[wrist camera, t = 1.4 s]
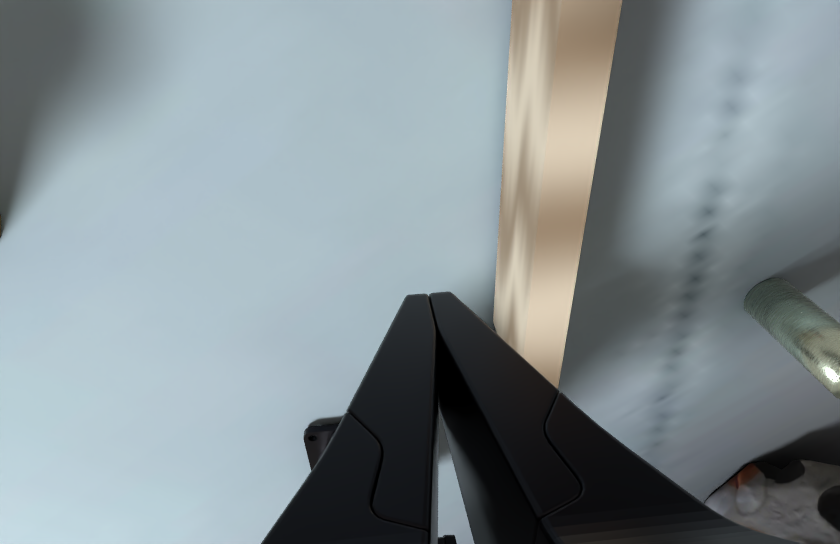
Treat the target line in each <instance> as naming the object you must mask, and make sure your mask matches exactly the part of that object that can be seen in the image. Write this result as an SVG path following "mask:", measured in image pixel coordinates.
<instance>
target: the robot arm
mask: <svg viewBox="0 0 840 544" xmlns="http://www.w3.org/2000/svg"><path fill="white" fill-rule="evenodd" d="M438 403H439V409H440V413H441V417H442V422H443V425H444V429H445V433H446V437H447V441H448V444H449V448H450V452H451V456H452V460H453V463H454V467H455V471H456V475H457V479H458V482H459V486H460V490H461V494H462V498H463V501H464V505H465V509H466V513H467V517H468V520H469V524H470V528H471V532H472V536H473V539H474V543H475V544H802V543H798V542H795V541H791V540H787V539H783V538H779V537H776V536H772V535H768V534H764V533H761V532H758V531H755V530H752V529H749V528H747V527H744V526H742V525H740V524H738V523H736V522H734V521H732V520H730V519H727V518H726V517H724V516H722V515H721V514H719V513H717V512H716V511H714V510H712V509H711V508H709V507H708V506H707V505H705V504H704V503H702V502H701V501H699V500H698V499H697V498H695V497H694V496H692V495H691V494H690V493H688V492H687V491H686V490H684V489H683V488H682V487H680V486H679V485H678V484H676V483H675V482H674V481H672V480H671V479H669V478H668V477H667V476H665V475H664V474H663V473H661V472H660V471H659V470H657V469H656V468H655V467H653V466H652V465H650V464H649V463H648V462H646V461H645V460H644V459H642V458H641V457H640V456H638V455H637V454H636V453H634V452H633V451H632V450H630V449H629V448H627V447H626V446H625V445H624V444H622V443H621V442H620V441H618V440H617V439H616V438H615V437H613V436H612V435H611V434H609V433H608V432H607V431H606V430H604V429H603V428H602V427H600V426H599V425H598V424H597V423H596V422H594V421H593V420H592V419H591V418H590V417H589V416H588V415H586V414H585V413H584V412H583V411H582V410H581V409H579V408H578V407H577V406H576V405H575V404H574V403H573V402H571V401H570V400H569V399H568V398H567V397H566V396H565V395H564V394H563V393H559V390H558V389H557V388H556V387H555V386H554V385H553V384H551V383H550V382H549V381H548V380H547V379H546V378H545V377H544V376H543V375H542V374H540V373H539V372H538V371H537V370H536V369H535V368H534V367H533V366H532V365H531V364H529V363H528V362H527V361H526V360H525V359H524V358H523V357H522V356H521V355H520V354H518V353H517V352H516V351H515V350H514V349H513V348H512V347H511V346H510V345H509V344H507V343H506V342H505V341H504V340H503V339H502V338H501V337H500V336H499V335H498V334H496V333H495V332H494V331H493V330H492V329H491V328H490V327H489V326H488V325H487V324H486V323H484V322H483V321H482V320H481V319H480V318H479V317H478V316H477V315H476V314H475V313H473V312H472V311H471V310H470V309H469V308H468V307H467V306H466V305H465V304H464V303H462V302H461V301H460V300H459V299H458V298H457V297H456V296H455V295H454V294H453V293H451V292H438V293H431V294H430V295H429V296H428V295H427V294H413V295H407V296H406V297H405V299H404V301H403V303H402V305H401V307H400V308H399V310H398V312H397V314H396V316H395V318H394V320H393V322H392V324H391V326H390V328H389V330H388V332H387V334H386V335H385V337H384V339H383V341H382V343H381V345H380V347H379V349H378V351H377V353H376V355H375V357H374V359H373V361H372V363H371V364H370V366H369V368H368V370H367V372H366V374H365V376H364V378H363V380H362V382H361V384H360V386H359V388H358V390H357V391H356V393H355V395H354V397H353V399H352V401H351V403H350V405H349V407H348V409H347V413H345V414H344V416H343V418H342V420H341V422H340V424H335V425H325V426H314V427H309V428H307V429H306V430H305V431H304V443H305V447H306V451H307V455H308V459H309V463H310V467H311V473H310V474H309V476H308V477H307V479H306V480H305V482H304V483H303V484H302V486H301V487H300V489H299V490H298V492H297V493H296V494H295V496H294V497H293V499H292V500H291V501H290V503H289V504H288V506H287V507H286V509H285V510H284V511H283V513H282V514H281V516H280V517H279V519H278V520H277V521H276V523H275V524H274V526H273V527H272V528H271V530H270V531H269V533H268V534H267V536H266V537H265V538H264V540H263V541H262V543H261V544H457V543H456V539H455V536H454V535H444V536H443V537H438V437H439V414H438ZM313 435H314V436H313Z"/></svg>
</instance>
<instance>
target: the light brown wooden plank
mask: <svg viewBox="0 0 840 544" xmlns="http://www.w3.org/2000/svg"><path fill="white" fill-rule="evenodd" d="M621 6H622V0H512V15H511V32H510V49H509V65H508V82H507V98H506V115H505V132H504V148H503V165H502V182H501V198H500V215H499V231H498V248H497V265H496V281H495V298H494V315H493V323H494V326H495V329H496V332H497V334H498V335H499V336H500V337H501V338H502V339H503V340H504V341H505V342H506V343H507V344H509V345H510V346H511V347H512V348H513V349H514V350H515V351H516V352H517V353H518V354H520V355H521V356H522V357H523V358H524V359H525V360H526V361H527V362H528V363H529V364H531V365H532V366H533V367H534V368H535V369H536V370H537V371H538V372H539V373H540V374H542V375H543V376H544V377H545V378H546V379H547V380H548V381H549V382H550V383H551V384H553V385H554V386H555V387H556V388H557V389H558V385H559V379H560V373H561V367H562V361H563V355H564V348H565V342H566V336H567V330H568V324H569V318H570V312H571V306H572V300H573V294H574V288H575V282H576V276H577V270H578V264H579V258H580V252H581V246H582V240H583V234H584V228H585V222H586V216H587V210H588V204H589V198H590V192H591V186H592V180H593V174H594V168H595V162H596V156H597V150H598V144H599V138H600V132H601V126H602V120H603V114H604V108H605V102H606V96H607V90H608V84H609V78H610V72H611V66H612V60H613V54H614V48H615V42H616V36H617V30H618V24H619V18H620V12H621Z"/></svg>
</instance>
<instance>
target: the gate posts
mask: <svg viewBox="0 0 840 544" xmlns="http://www.w3.org/2000/svg"><path fill="white" fill-rule="evenodd" d="M744 309H745V310H746V312H747V313H748V314H749V315H750V316H752V317H753V318H754V319H755V320H756V321H757V322H758V323H759V324H760V325H761V326H762V327H763V328H764V329H765V330H766V331H767V332H768V333H769V334H770V335H771V336H772V337H773V338H775V339H776V340H777V341H778V342H779V343H780V344H781V345H782V346H783V347H784V348H785V349H786V350H787V351H788V352H789V353H790V354H791V355H792V356H793V357H794V358H795V359H796V360H797V361H799V362H800V363H801V364H802V365H803V366H804V367H805V368H806V369H807V370H808V371H809V372H810V373H811V374H812V375H813V376H814V377H815V378H816V379H817V380H818V381H819V382H820V383H822V384H823V385H824V386H825V387H826V388H827V389H828V390H829V391H830V392H831V393H832V394H833V395H834V396H835V397H837V398H839V399H840V323H839V322H838V321H836V320H835V319H834V318H833V317H831V316H830V315H829V314H828V313H826V312H825V311H824V310H822V309H821V308H820V307H819V306H817V305H816V304H815V303H814V302H812V301H811V300H810V299H809V298H807V297H806V296H805V295H804V294H802V293H801V292H800V291H799V290H797V289H796V288H795V287H794V286H792V285H791V284H790V283H788V282H787V281H786V280H784V279H781V278H773V279H769V280H766V281H763V282H761V283H760V284H758V285H756V286H755V287H754V288H753V289H752V290H751V291H750V292H749V293H748V294H747V296H746V298H745V301H744ZM493 331H494V332H495V333H496V334H497V332H496V329H494V330H493Z"/></svg>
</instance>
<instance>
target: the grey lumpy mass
mask: <svg viewBox="0 0 840 544" xmlns="http://www.w3.org/2000/svg"><path fill="white" fill-rule="evenodd" d="M704 504H705V505H707V506H708V507H709V508H711V509H712V510H714V511H716V512H717V513H719V514H721V515H722V516H724V517H726V518H727V519H730V520H732V521H734V522H736V523H738V524H740V525H742V526H744V527H747V528H749V529H752V530H755V531H758V532H761V533H764V534H768V535H772V536H776V537H779V538H783V539H787V540H791V541H795V542H798V543H802V544H840V466H837V465H831V464H826V463H820V462H816V461H811V460H803V459H800V460H793V461H792V462H791V463H790V464H788V465H787V466H786V467H785V468H784V469H782V470H781V469H779V468H777V467H775V466H773V465H771V464H768V463H766V462H764V461H761V462H757V463H751V464H749V465H747V466H746V467H745V468H744V469H743V470H742V471H740V472H739V473H738V474H737V475H735V476H734V477H733V478H732V479H731V480H729V481H728V482H727V483H726V484H724V485H723V486H722V487H721V488H719V489H718V490H717V491H716V492H715V493H713V494H712V495H711V496H710V497H709V498H708V499H707V500H706V501H705V502H704Z"/></svg>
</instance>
